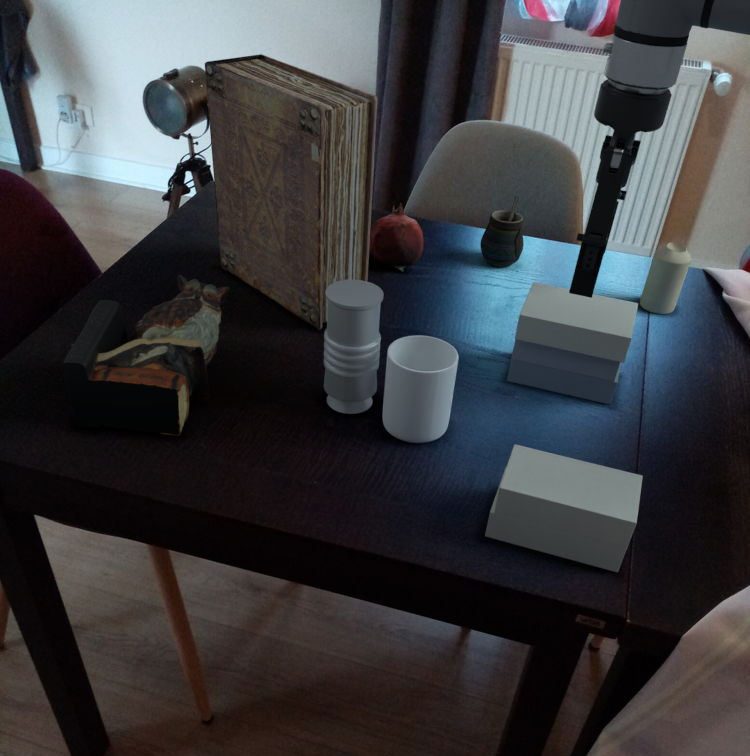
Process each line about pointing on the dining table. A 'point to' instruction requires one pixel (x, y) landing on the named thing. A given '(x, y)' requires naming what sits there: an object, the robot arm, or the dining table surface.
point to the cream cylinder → (665, 278)
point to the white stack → (566, 507)
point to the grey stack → (564, 371)
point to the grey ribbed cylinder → (352, 344)
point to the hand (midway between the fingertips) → (587, 271)
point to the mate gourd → (503, 238)
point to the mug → (419, 388)
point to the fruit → (396, 240)
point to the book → (291, 179)
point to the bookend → (145, 362)
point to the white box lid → (577, 322)
